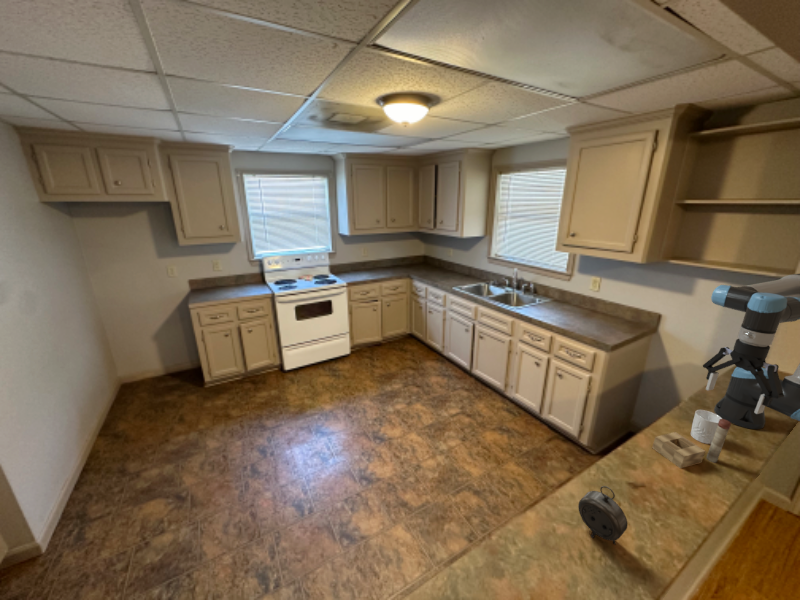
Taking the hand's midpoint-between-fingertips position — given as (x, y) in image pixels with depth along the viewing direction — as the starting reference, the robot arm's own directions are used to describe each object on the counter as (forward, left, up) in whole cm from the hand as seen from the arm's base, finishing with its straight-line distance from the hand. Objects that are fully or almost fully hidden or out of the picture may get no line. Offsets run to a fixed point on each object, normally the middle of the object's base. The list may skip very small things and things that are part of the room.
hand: (732, 400), depth 111 cm
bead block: (+10, -5, -24) cm, 27 cm away
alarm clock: (+62, +11, -25) cm, 67 cm away
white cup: (-9, -9, -25) cm, 28 cm away
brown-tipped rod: (0, 0, -24) cm, 24 cm away
